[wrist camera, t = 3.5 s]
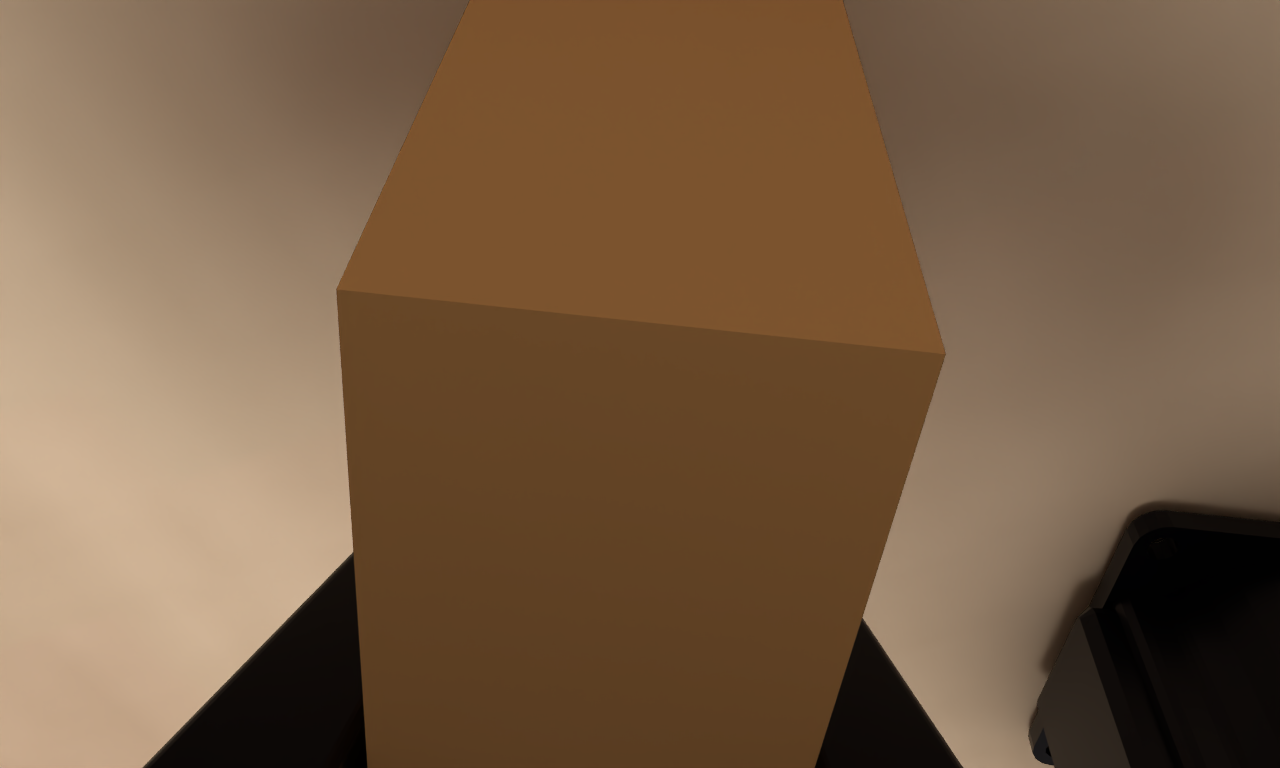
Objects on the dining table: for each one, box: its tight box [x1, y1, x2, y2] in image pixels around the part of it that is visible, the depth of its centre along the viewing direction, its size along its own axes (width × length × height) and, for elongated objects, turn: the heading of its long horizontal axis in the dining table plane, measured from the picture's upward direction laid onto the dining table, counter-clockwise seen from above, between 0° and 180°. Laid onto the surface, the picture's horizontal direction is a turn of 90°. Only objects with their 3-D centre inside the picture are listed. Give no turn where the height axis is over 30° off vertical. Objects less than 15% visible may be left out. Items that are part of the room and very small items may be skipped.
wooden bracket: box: [336, 0, 946, 768], centre depth 10 cm, size 2×8×6 cm, turn 174°
